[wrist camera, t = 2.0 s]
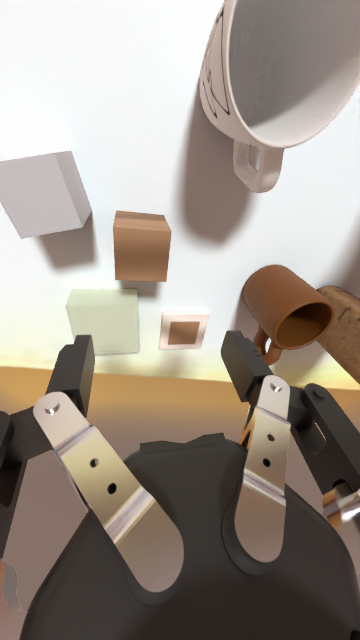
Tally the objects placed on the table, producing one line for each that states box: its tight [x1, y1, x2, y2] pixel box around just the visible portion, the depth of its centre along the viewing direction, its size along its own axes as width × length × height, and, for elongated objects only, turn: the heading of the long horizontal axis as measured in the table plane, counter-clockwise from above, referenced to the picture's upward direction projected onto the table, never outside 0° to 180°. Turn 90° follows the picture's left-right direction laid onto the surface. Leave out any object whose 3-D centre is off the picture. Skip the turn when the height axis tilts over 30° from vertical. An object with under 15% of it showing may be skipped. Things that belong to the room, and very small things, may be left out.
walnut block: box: [113, 211, 171, 282], centre depth 23 cm, size 5×5×6 cm
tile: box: [159, 312, 209, 349], centre depth 35 cm, size 7×7×1 cm
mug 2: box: [243, 265, 335, 366], centre depth 31 cm, size 12×8×9 cm, turn 162°
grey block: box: [0, 151, 92, 239], centre depth 19 cm, size 5×5×6 cm
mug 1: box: [199, 0, 360, 193], centre depth 16 cm, size 11×8×10 cm
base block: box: [66, 289, 139, 355], centre depth 30 cm, size 8×8×4 cm
